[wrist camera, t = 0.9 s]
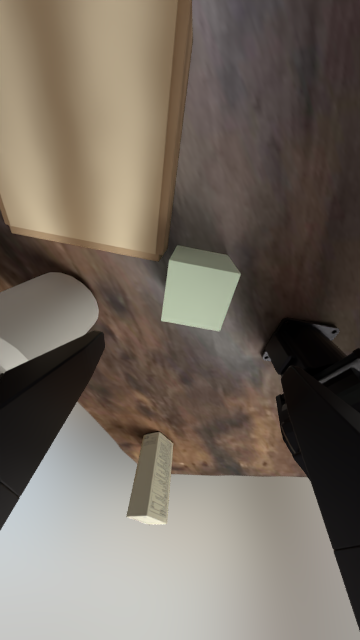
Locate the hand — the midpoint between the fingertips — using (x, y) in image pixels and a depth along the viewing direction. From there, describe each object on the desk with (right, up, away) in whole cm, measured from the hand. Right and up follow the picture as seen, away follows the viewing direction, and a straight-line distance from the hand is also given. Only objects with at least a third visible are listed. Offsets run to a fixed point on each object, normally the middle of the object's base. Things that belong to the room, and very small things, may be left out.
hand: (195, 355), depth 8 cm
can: (-14, +4, +13) cm, 19 cm away
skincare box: (-5, -25, +31) cm, 40 cm away
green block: (+1, +6, +10) cm, 12 cm away
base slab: (-7, +15, +5) cm, 17 cm away
